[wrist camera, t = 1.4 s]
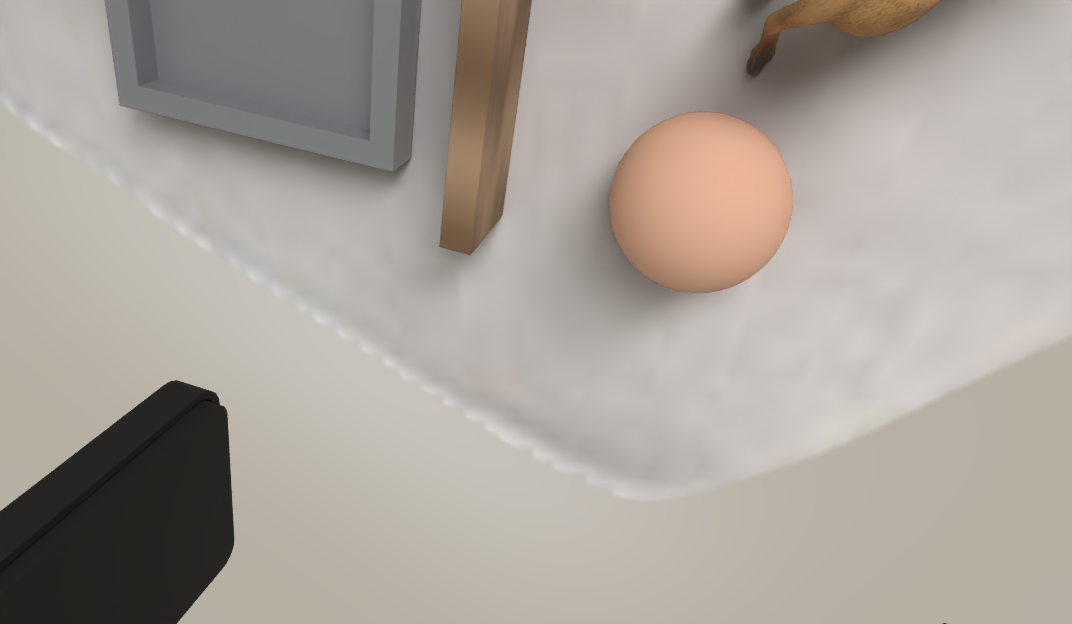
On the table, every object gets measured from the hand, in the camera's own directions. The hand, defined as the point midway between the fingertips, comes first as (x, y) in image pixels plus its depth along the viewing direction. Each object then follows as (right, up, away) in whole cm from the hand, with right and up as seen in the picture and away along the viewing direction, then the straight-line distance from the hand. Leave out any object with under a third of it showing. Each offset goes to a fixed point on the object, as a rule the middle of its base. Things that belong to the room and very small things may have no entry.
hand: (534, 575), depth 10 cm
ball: (+6, +9, +18) cm, 21 cm away
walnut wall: (-1, +13, +17) cm, 22 cm away
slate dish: (-10, +16, +18) cm, 26 cm away
